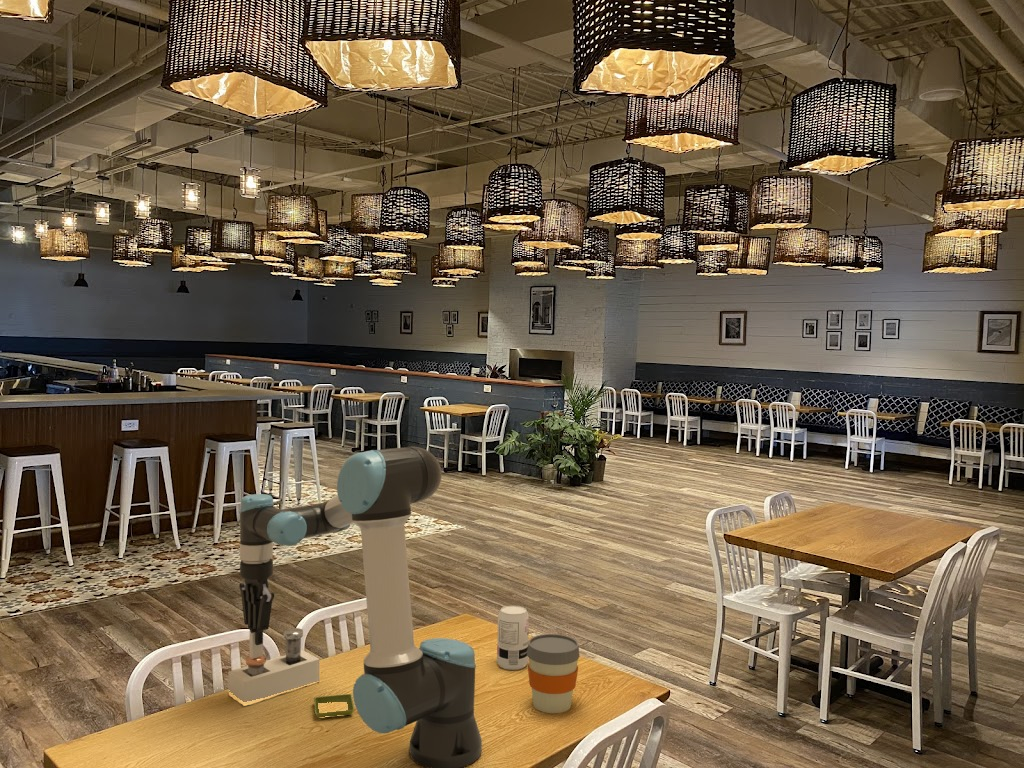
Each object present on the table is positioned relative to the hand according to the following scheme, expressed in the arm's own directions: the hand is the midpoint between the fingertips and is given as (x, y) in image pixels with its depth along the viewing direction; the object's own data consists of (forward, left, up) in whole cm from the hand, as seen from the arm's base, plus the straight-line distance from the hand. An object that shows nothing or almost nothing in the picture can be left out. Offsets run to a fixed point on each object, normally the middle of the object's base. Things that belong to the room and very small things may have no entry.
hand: (256, 656), depth 192 cm
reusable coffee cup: (+16, -69, -10) cm, 72 cm away
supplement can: (+36, -54, -10) cm, 66 cm away
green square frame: (-2, -21, -10) cm, 24 cm away
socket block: (+4, -2, -10) cm, 11 cm away
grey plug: (+9, -5, -5) cm, 11 cm away
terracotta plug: (0, 0, -9) cm, 9 cm away
